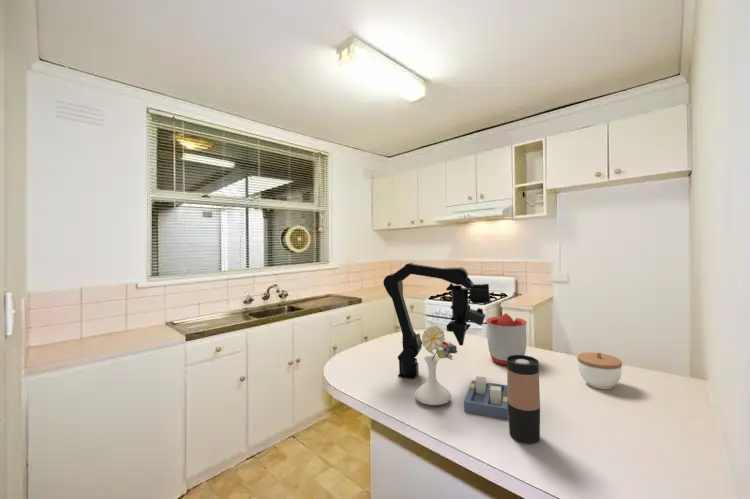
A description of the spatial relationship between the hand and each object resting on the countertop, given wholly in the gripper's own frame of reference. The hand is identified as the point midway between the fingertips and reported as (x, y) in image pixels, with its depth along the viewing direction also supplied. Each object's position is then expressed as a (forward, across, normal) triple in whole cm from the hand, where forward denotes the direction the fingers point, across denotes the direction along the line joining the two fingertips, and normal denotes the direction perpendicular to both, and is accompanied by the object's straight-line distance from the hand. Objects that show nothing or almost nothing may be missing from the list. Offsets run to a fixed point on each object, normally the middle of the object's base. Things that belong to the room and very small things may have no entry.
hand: (461, 345), depth 121 cm
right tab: (+11, -16, -13) cm, 24 cm away
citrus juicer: (+13, +26, -14) cm, 32 cm away
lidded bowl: (+13, +12, -44) cm, 47 cm away
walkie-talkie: (+14, +30, +13) cm, 35 cm away
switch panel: (+13, -14, -11) cm, 22 cm away
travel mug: (+13, -29, -21) cm, 38 cm away
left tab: (+11, -11, -8) cm, 17 cm away
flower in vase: (+13, -19, +5) cm, 24 cm away
